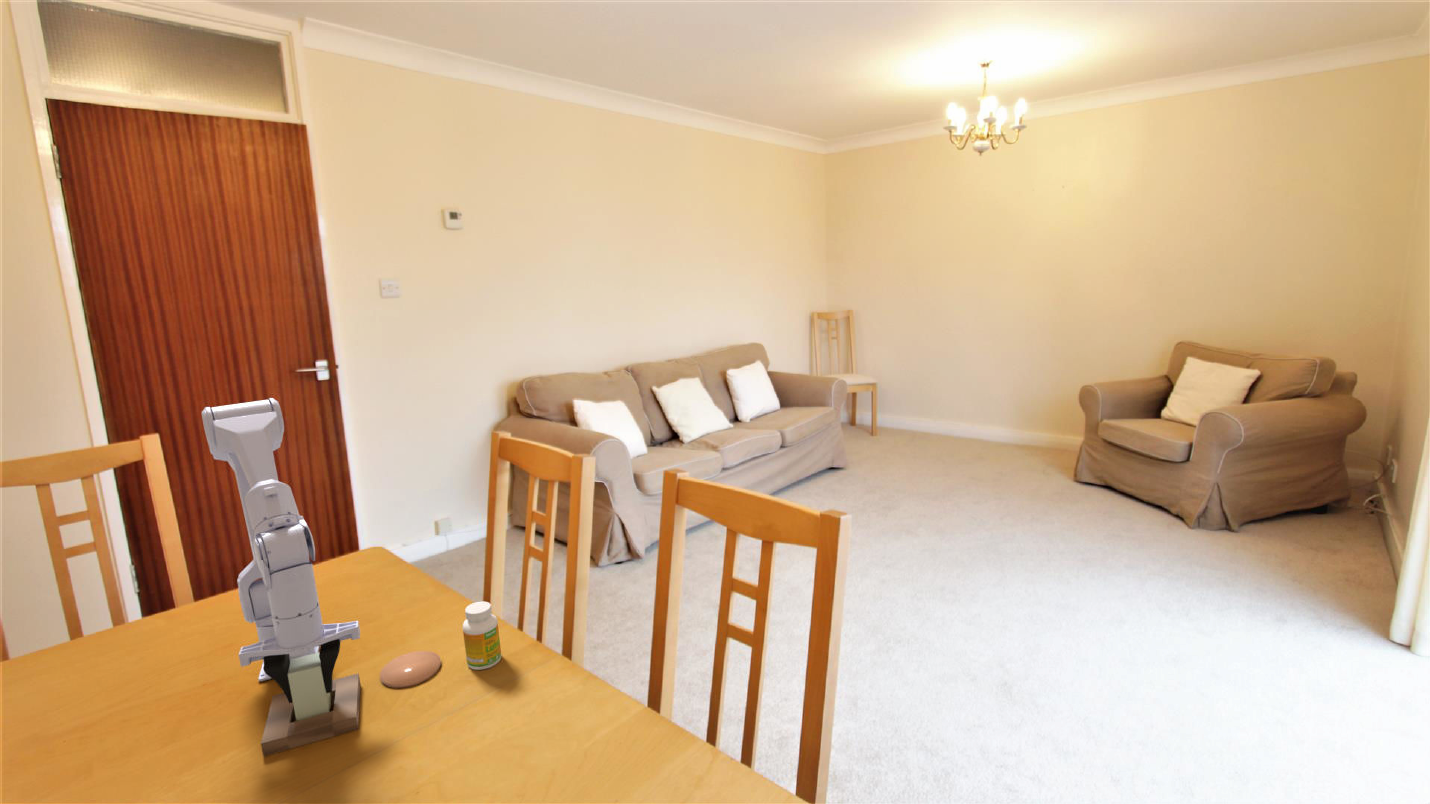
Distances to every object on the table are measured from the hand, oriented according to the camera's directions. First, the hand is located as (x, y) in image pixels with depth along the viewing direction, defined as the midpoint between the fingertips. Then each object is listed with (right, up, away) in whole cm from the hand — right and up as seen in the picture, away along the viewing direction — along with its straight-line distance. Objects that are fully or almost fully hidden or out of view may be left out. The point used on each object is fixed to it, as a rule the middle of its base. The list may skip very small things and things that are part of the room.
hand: (311, 693), depth 98 cm
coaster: (+9, -1, +12) cm, 15 cm away
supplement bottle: (+20, -1, +14) cm, 25 cm away
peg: (0, -3, +1) cm, 3 cm away
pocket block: (0, -4, +1) cm, 4 cm away
